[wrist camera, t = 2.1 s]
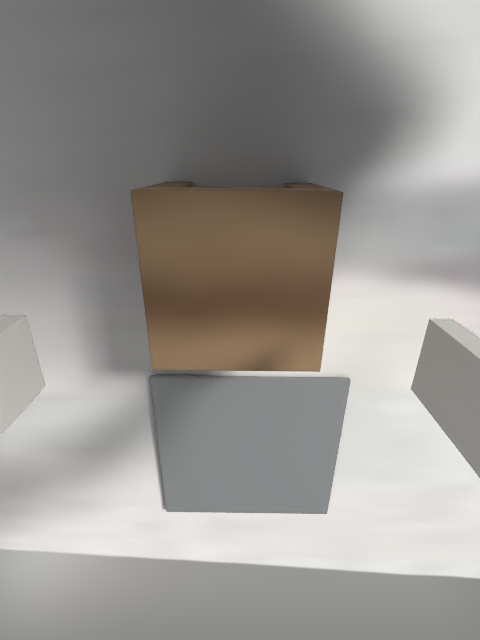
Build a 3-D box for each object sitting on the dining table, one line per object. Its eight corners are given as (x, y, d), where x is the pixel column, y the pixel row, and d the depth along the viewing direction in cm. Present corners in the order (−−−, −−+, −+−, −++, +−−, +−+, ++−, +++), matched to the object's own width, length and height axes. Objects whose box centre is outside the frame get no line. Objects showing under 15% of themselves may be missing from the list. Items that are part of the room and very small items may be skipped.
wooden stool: (167, 182, 21) (130, 190, 14) (310, 183, 21) (343, 192, 14) (177, 313, 25) (152, 369, 18) (298, 314, 25) (320, 371, 18)
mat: (151, 375, 27) (149, 378, 27) (348, 377, 27) (350, 380, 27) (167, 508, 34) (166, 511, 33) (325, 510, 34) (326, 513, 33)
